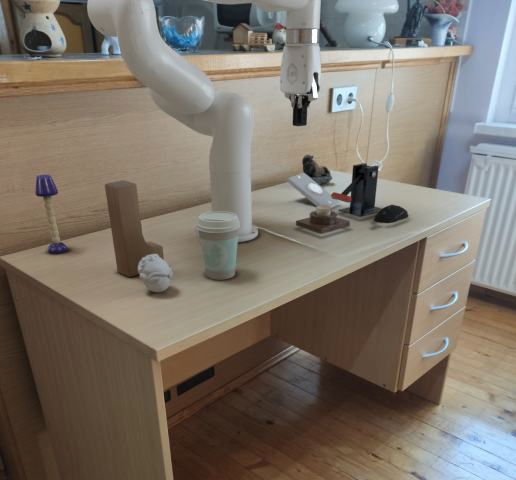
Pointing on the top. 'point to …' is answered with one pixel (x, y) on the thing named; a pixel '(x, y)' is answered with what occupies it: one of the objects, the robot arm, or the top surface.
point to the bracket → (363, 192)
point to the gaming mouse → (391, 214)
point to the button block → (322, 223)
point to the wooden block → (127, 227)
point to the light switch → (311, 190)
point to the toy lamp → (50, 210)
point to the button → (323, 210)
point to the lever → (349, 187)
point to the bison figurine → (316, 170)
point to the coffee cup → (219, 243)
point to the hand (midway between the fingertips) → (299, 125)
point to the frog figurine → (155, 273)
